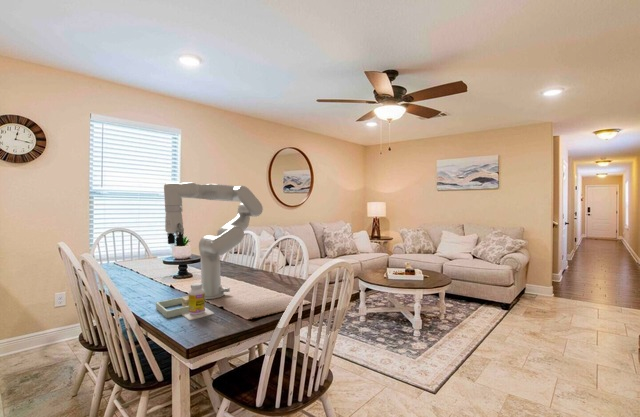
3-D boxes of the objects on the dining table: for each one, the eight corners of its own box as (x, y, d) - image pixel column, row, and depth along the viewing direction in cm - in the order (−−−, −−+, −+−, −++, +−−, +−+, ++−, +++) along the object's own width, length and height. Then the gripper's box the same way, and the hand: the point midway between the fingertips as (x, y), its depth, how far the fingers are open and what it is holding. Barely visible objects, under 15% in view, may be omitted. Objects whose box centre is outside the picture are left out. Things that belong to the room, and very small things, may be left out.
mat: (204, 307, 156) (204, 306, 156) (214, 314, 148) (214, 313, 148) (180, 313, 149) (180, 312, 149) (189, 320, 141) (189, 319, 141)
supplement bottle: (195, 316, 144) (194, 286, 143) (185, 313, 148) (184, 284, 147) (208, 311, 150) (207, 283, 149) (198, 309, 153) (197, 281, 153)
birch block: (191, 304, 161) (191, 295, 161) (195, 307, 158) (195, 297, 158) (182, 307, 158) (182, 297, 158) (185, 309, 155) (185, 299, 155)
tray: (190, 301, 166) (190, 295, 166) (203, 309, 154) (203, 302, 154) (156, 308, 156) (155, 302, 156) (167, 318, 144) (166, 311, 144)
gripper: (158, 209, 163) (160, 244, 164) (173, 210, 151) (175, 247, 152) (174, 208, 168) (176, 241, 169) (189, 208, 156) (191, 245, 157)
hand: (175, 244), depth 161 cm, fingers open, 9 cm apart
